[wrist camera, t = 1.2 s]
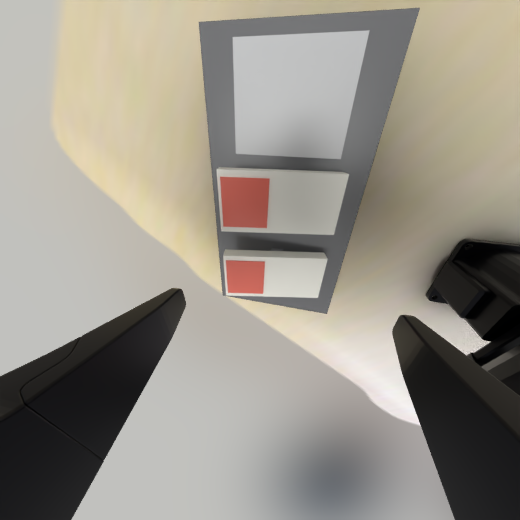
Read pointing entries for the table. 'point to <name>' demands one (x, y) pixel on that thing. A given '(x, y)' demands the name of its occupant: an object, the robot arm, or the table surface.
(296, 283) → the rocker
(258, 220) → the rocker
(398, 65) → the rocker switch panel
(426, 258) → the table surface
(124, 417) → the robot arm
